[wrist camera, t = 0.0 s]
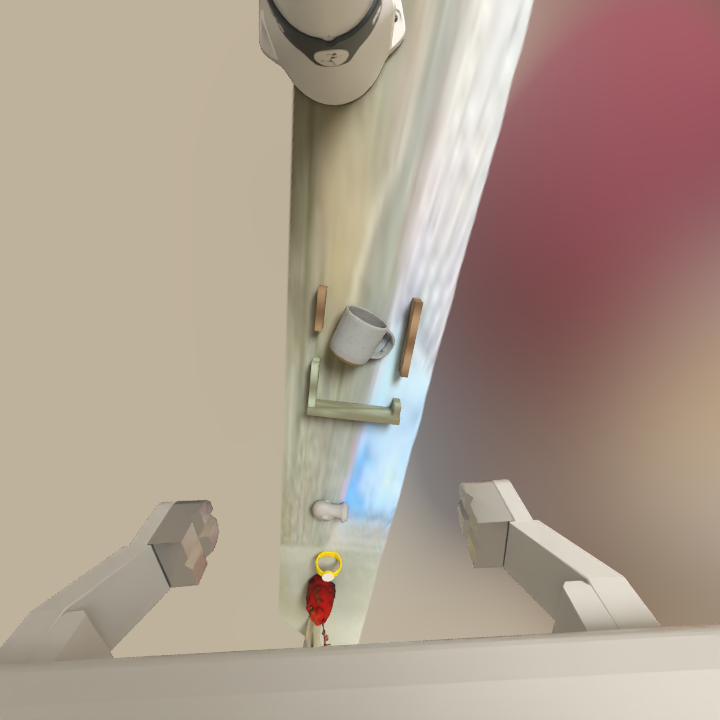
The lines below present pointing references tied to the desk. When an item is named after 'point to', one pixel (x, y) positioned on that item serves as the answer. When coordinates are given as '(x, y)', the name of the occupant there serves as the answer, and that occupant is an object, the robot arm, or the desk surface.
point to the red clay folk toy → (320, 601)
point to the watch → (328, 574)
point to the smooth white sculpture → (330, 511)
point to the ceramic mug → (359, 336)
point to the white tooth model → (312, 635)
